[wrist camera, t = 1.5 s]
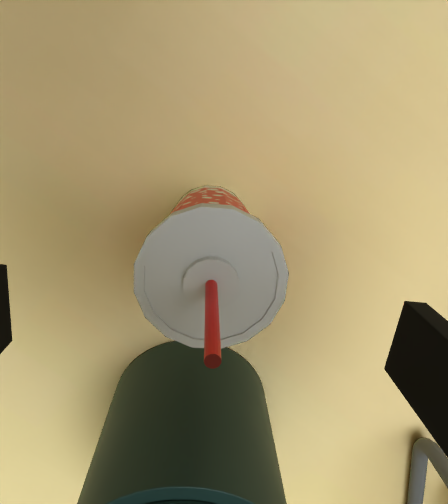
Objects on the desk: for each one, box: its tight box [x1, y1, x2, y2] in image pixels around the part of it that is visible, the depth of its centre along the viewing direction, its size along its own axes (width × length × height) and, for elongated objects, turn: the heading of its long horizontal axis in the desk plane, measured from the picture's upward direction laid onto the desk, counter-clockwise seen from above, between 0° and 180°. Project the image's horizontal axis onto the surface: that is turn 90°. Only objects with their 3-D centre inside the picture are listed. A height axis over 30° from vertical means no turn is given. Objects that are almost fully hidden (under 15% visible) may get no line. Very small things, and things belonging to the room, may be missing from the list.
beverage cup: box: [134, 185, 289, 369], centre depth 17 cm, size 6×6×14 cm
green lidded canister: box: [77, 341, 286, 504], centre depth 21 cm, size 11×11×14 cm
